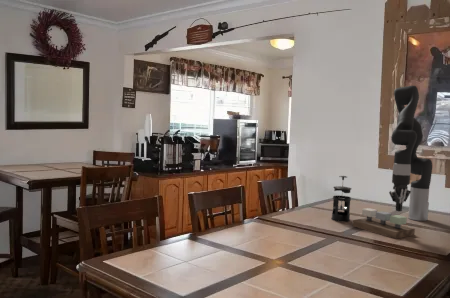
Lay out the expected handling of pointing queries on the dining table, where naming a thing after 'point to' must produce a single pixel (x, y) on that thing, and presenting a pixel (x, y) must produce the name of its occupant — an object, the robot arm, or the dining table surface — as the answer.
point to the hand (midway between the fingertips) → (398, 211)
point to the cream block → (369, 213)
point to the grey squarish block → (383, 217)
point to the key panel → (383, 228)
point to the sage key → (398, 220)
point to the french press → (341, 215)
